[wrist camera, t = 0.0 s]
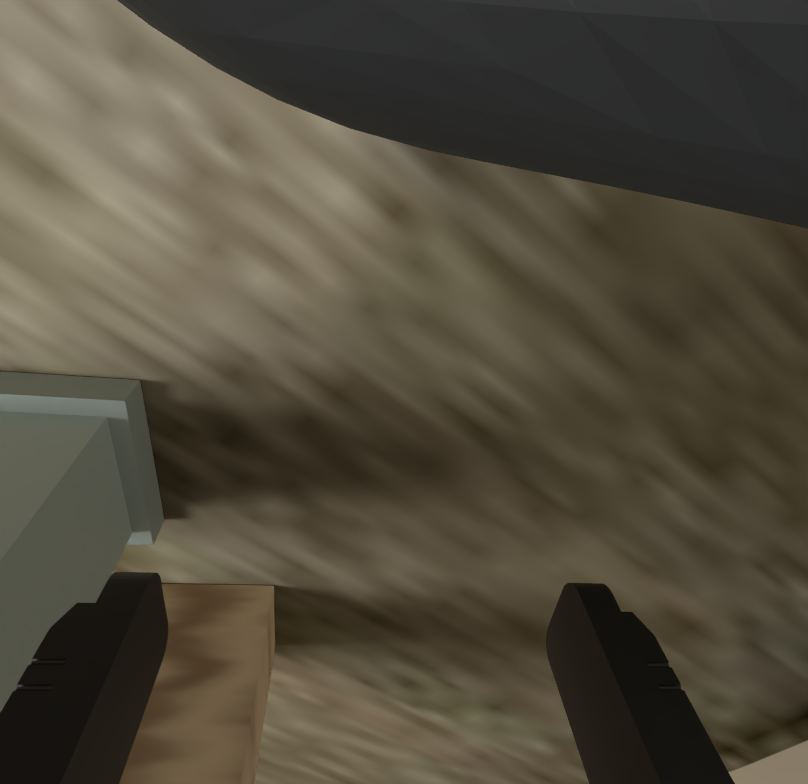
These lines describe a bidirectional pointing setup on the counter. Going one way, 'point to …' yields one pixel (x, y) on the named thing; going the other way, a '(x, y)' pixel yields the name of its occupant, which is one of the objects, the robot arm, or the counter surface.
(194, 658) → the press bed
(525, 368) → the counter surface
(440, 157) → the counter surface
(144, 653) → the robot arm
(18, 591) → the frame
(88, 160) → the counter surface
